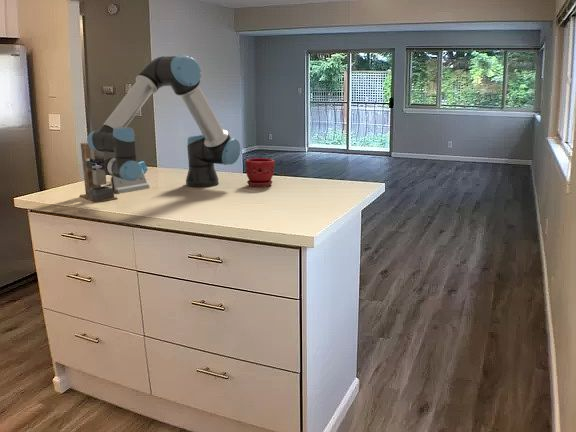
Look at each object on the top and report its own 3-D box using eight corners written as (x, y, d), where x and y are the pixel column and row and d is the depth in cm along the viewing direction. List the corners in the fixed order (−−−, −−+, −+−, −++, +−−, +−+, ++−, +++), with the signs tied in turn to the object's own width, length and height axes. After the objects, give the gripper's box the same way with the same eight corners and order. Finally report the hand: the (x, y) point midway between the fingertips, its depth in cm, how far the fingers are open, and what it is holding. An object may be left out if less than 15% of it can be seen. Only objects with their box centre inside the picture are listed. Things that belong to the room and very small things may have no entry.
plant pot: (269, 188, 254) (268, 161, 251) (241, 187, 258) (240, 161, 255) (278, 183, 266) (278, 157, 263) (252, 182, 270) (251, 157, 267)
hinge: (118, 193, 248) (112, 171, 248) (113, 196, 251) (106, 174, 251) (150, 188, 260) (144, 166, 260) (145, 190, 263) (139, 169, 263)
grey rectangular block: (106, 184, 236) (103, 145, 232) (97, 185, 233) (93, 146, 229) (102, 182, 239) (99, 144, 235) (93, 184, 236) (89, 145, 232)
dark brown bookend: (117, 199, 237) (112, 144, 232) (95, 202, 231) (89, 146, 226) (101, 193, 250) (96, 141, 244) (79, 196, 244) (74, 143, 238)
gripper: (95, 179, 216) (73, 172, 233) (137, 174, 226) (113, 167, 244) (93, 159, 214) (71, 154, 232) (135, 155, 225) (111, 150, 242)
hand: (92, 161), depth 238 cm, fingers closed on grey rectangular block, 4 cm apart
